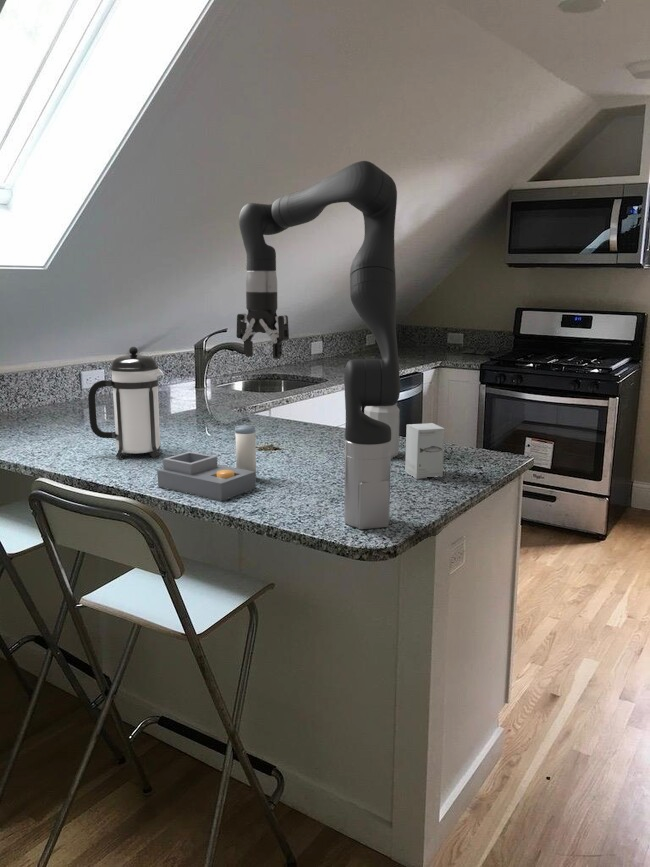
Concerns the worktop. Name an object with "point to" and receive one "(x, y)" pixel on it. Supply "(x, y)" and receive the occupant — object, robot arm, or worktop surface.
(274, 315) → the robot arm
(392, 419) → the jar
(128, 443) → the coffee press
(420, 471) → the supplement box
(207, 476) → the housing
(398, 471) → the worktop surface
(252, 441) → the cartridge
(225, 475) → the button
